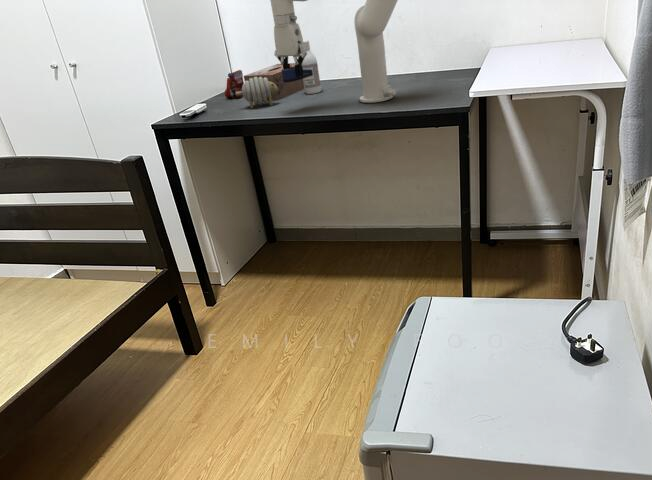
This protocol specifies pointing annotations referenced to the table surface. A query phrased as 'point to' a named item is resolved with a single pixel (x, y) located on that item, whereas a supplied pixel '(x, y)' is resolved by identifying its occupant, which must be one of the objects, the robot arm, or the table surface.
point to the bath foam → (310, 63)
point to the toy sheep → (258, 91)
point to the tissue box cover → (277, 80)
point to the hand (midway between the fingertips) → (293, 75)
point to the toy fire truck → (234, 84)
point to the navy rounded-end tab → (294, 74)
